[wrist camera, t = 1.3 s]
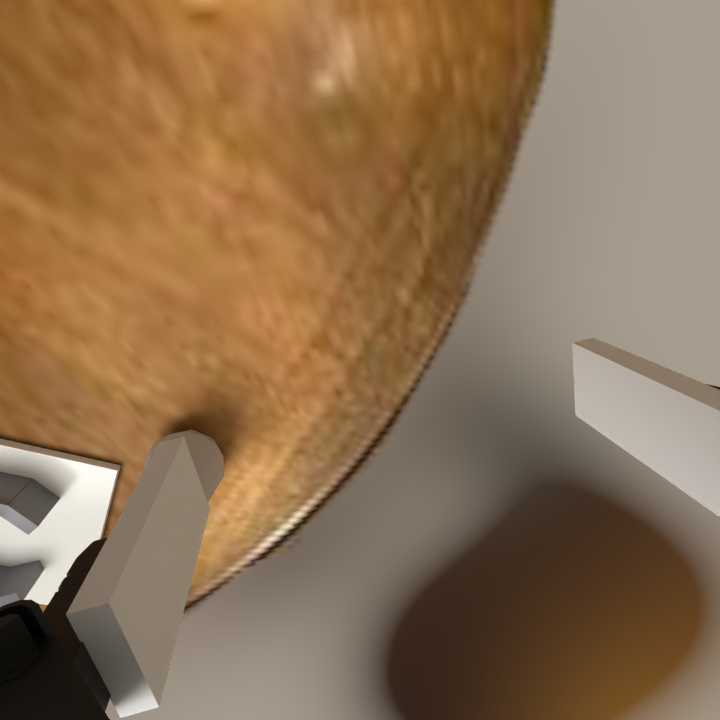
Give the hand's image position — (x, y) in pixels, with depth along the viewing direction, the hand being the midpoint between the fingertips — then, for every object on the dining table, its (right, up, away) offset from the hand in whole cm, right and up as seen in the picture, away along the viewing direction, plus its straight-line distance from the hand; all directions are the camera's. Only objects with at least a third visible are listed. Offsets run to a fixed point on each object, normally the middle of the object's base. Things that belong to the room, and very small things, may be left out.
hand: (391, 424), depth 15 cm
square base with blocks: (-29, -11, +22) cm, 38 cm away
